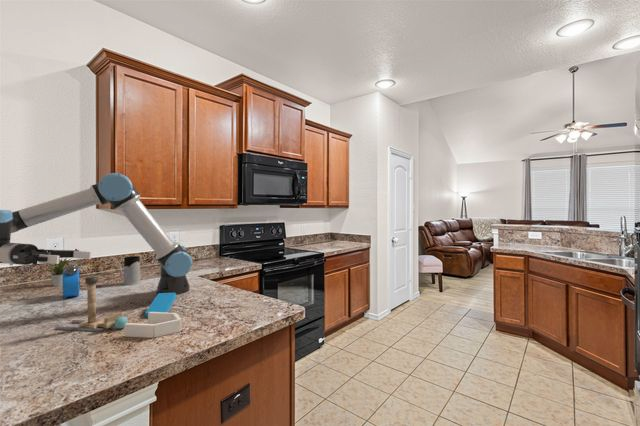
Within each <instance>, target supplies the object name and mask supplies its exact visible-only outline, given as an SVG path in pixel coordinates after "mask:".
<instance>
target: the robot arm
mask: <svg viewBox="0 0 640 426" xmlns="http://www.w3.org/2000/svg"><path fill="white" fill-rule="evenodd" d="M140 198H141V193H140V192H139V191H138V190H137V189H136V188H135V186H134V185H133V183H132V181H131V179H130V178H129V177H128V176H127V175H124V174H122V173H119V172H118V173H117V172H112V173H108V174H106V175H104V176H103V177H102V178H100V179H99V181H98V183H95V184H92V185H90V187H89V188H87V189H84V190H80V191H76V192H74V193H70V194H67V195H65V196H64V195H63V196H61V197H58V198H54V199H51V200H48V201H44V202H41V203H38V204H36V205H35V204H34V205H31V206H28V207H26V208H21V209H19V210H16V211H12V210H11V209H10V210H8V209H0V264H7V265H8V264H9V266H11V267H12V266H13V265H20V266H29V265H31V264H32V266H36V265H38V263H39V264H49V263H51V264H52V265H55V264H59V259H65V258H68V259H71V258H72V259H79V260H80V259H83V260H91V259H92V254H93V253H92V251H86V250H85V251H82V250H79V249H77V248H75V249H74V250H71V249H70V250H69V249H68V250H67V249H61V250H60V249H57V250H56V249H44V248H38V246H36V245H35V244H32V243H20V242H11V238H12V236H11V235H12V234H14V233H17V232H19V231H22V230H24V229H27V228H29V227H33V226H36V225H39V224H42V223H44V222H48V221H51V220H53V219H57V218H60V217H63V216H66V215H69V214H72V213H75V212H78V211H81V210H84V209H86V208H90V207H93V206H96V205H99V206H103V205H106V204H109V205H110V206H111V207H112V208H113V209H114V211H120V212H121V213H122V214H123V215H124V217H125V218H126V219H127V220H128V221H129V223H130V224H131V225H132V226H133V227H134V228H135V230H136V231H137V232H138V233H139V234H140V236H141V237H142V238H143V239H144V241H145V242H146V243H147V244H148V246H149V247H150V248H151V249H152V250H153V251H154V252H155V253H156V255H155V260H157V262H158V263H159V265H160V278H159V280H158V281H159V282H158V283H157V288H156V294H157V295H158V293H176V295H180V294H183V293H186V292H189V291H190V284H189V281H188V277H187V274H188V273H189V272H191V270H192V267H193V259H192V256H191V255H190V254H189V253H187V250H186V246H184V245H181V244H180V243H179V242H174V241H173V240H172V238H171V237H170V236H169V234H167V232H166V231H165V230H164V229H163V228H162V226H161V224H159V222H158V221H157V220H156V219H155V217H154V216H153V215H152V214H151V212H150V211H149V210H148V209H147V207H146V205H144V204H143V202H142V201H141V200H140Z"/></svg>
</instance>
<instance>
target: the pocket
mask: <svg viewBox="0 0 640 426" xmlns="http://www.w3.org/2000/svg"><path fill="white" fill-rule="evenodd" d="M182 323H183V322H182V317H180V315H179V314H178V313H177V312H169V311H168V312H149V313H148V318H147V323H137V322H136V323H135V322H128V323H126V324H125V327H124V337H129V338H134V337H135V338H148V339H151V338H152V339H153V338H159V337H163V336H168V335H173V334H176V333H179V332H181V331H183V330H182V329H183V326H182V325H183V324H182Z"/></svg>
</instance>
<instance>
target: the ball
mask: <svg viewBox="0 0 640 426" xmlns="http://www.w3.org/2000/svg"><path fill="white" fill-rule="evenodd" d="M126 323H129V320H128V318H127V317H126V316H122V317H119V318H117V319H116V320H115V323H114V327H115V328H116V329H119V330H120V329H121V330H122V329H125V324H126Z"/></svg>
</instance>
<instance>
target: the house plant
mask: <svg viewBox="0 0 640 426" xmlns="http://www.w3.org/2000/svg"><path fill="white" fill-rule="evenodd" d="M72 259H73V258H68V259H67V258H59V264H54V265H53V264H51V263H48V264H49V265H50V266H51V267H49V266H47V268H48V269H46V271H48V272H51V273H52V274H50V278H51V282H52V286H53V287H61V285H62V286H63V270H65V268H66V267H67V265H68V264H69V263H70V262H72V261H74V259H73V260H72Z"/></svg>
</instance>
